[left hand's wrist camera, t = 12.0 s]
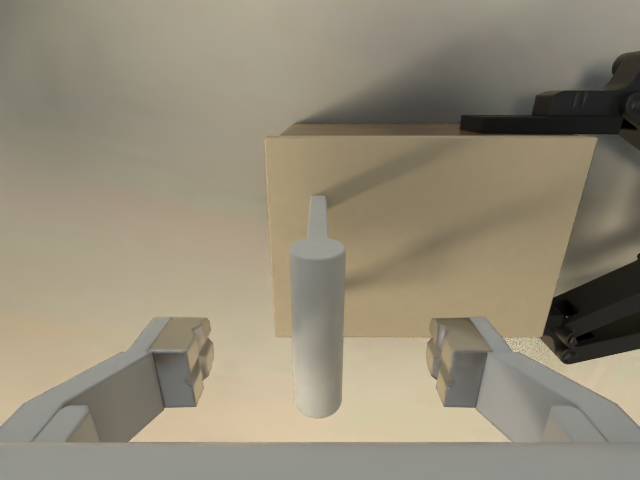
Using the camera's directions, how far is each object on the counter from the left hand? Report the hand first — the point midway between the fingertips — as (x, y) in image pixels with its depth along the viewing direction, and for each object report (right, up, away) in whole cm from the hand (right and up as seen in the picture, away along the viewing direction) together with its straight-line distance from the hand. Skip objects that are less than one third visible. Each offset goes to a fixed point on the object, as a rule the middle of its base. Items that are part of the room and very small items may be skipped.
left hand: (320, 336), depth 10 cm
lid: (+5, +3, +7) cm, 9 cm away
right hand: (+8, +4, +9) cm, 12 cm away
